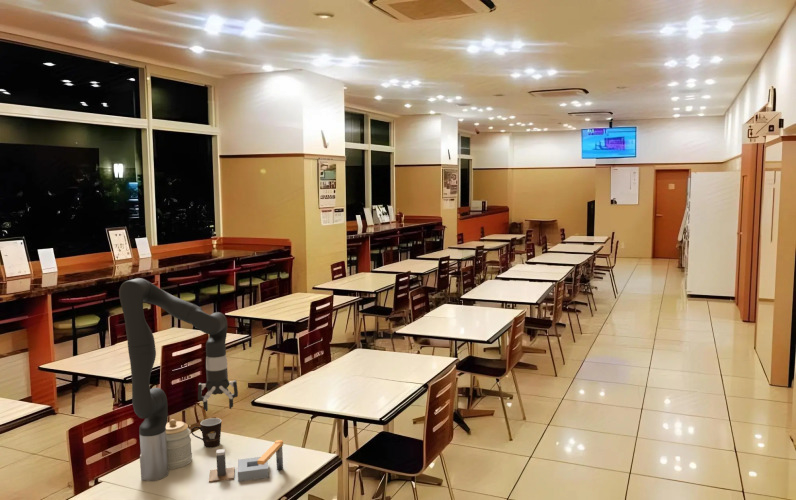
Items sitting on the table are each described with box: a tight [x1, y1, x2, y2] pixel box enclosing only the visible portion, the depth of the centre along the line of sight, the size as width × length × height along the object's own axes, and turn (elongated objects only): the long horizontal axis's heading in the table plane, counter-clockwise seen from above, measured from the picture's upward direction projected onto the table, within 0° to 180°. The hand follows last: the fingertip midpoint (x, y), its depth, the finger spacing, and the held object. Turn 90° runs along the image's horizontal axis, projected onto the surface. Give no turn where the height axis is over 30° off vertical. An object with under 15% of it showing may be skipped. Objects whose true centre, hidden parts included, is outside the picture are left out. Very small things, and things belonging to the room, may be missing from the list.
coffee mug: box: [190, 417, 222, 449], centre depth 259 cm, size 12×9×10 cm
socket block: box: [237, 456, 270, 482], centre depth 233 cm, size 11×11×4 cm
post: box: [275, 446, 284, 472], centre depth 235 cm, size 2×2×9 cm
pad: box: [208, 466, 235, 483], centre depth 231 cm, size 9×9×1 cm
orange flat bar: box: [257, 439, 284, 465], centre depth 227 cm, size 18×3×1 cm, turn 168°
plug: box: [215, 448, 227, 476], centre depth 231 cm, size 3×3×9 cm
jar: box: [166, 418, 193, 470], centre depth 242 cm, size 13×13×18 cm
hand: (218, 409), depth 228 cm, fingers open, 8 cm apart
